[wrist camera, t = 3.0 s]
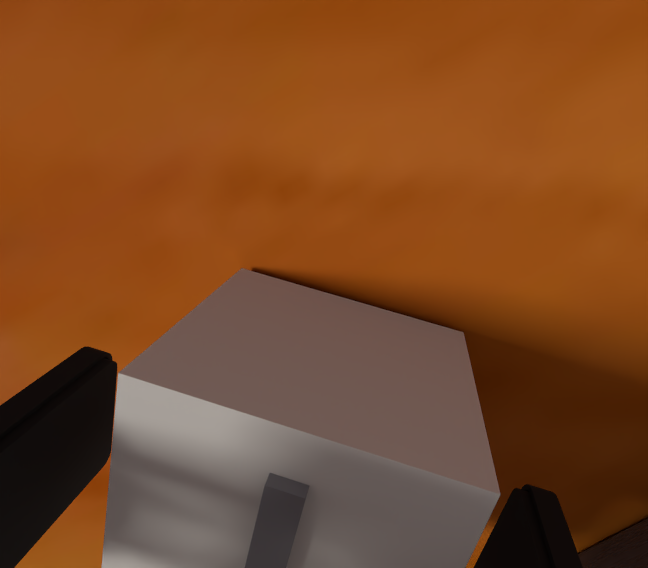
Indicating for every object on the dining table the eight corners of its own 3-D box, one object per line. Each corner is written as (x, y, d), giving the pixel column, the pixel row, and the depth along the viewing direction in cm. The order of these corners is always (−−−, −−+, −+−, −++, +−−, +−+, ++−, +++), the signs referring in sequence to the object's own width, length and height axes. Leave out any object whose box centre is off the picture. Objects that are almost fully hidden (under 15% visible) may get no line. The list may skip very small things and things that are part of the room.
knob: (397, 506, 15) (385, 749, 9) (209, 445, 16) (87, 637, 10) (463, 332, 13) (504, 509, 7) (241, 268, 13) (107, 382, 8)
